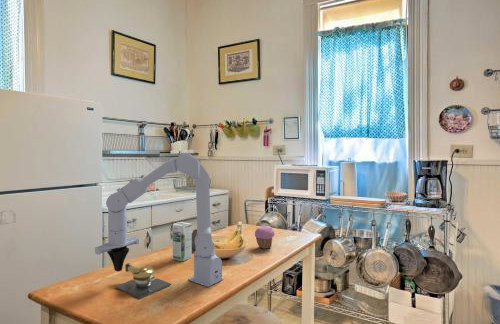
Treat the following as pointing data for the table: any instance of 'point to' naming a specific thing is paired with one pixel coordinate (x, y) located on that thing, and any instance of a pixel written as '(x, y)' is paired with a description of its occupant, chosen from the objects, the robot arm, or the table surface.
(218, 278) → the robot arm
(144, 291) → the dark grey plate
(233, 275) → the table surface
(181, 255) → the syrup box
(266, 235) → the cupcake
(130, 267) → the brass lever handle
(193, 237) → the vase
